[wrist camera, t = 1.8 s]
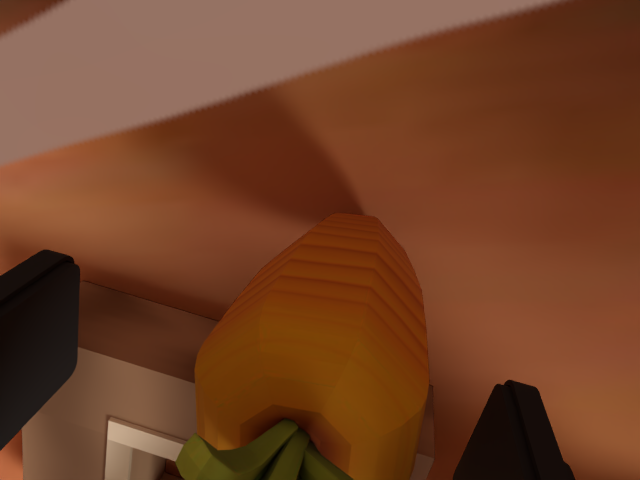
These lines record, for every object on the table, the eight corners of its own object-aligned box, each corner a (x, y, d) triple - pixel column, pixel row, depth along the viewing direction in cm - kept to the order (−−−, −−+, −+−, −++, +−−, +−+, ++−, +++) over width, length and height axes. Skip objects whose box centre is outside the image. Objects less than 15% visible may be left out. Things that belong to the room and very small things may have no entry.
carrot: (278, 248, 21) (-6, 685, 7) (333, 139, 18) (82, 456, 5) (387, 307, 21) (319, 850, 7) (454, 204, 19) (540, 694, 5)
